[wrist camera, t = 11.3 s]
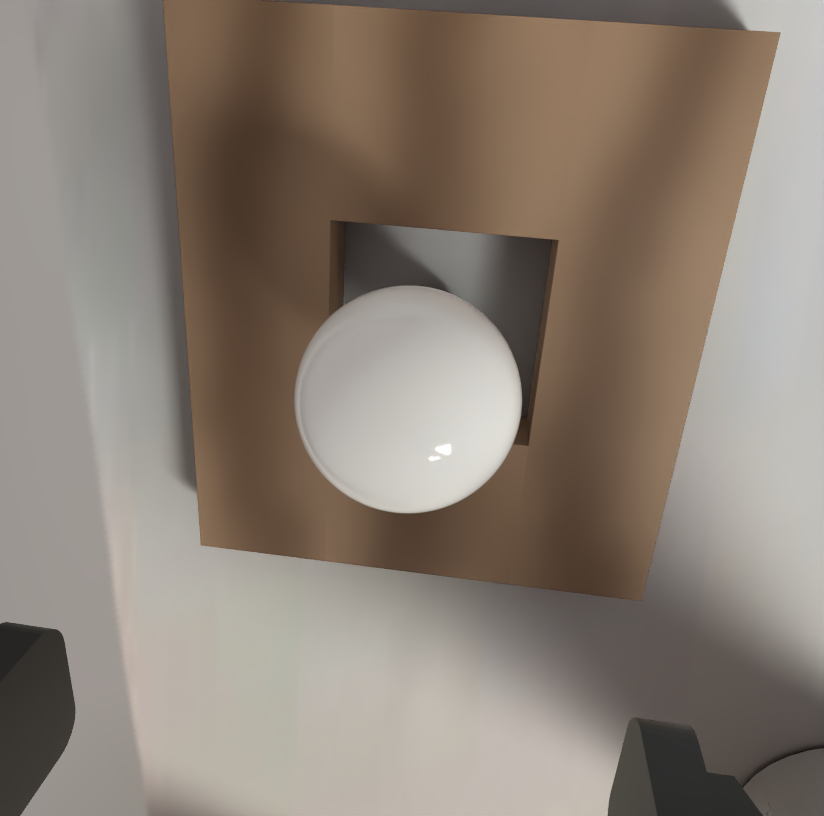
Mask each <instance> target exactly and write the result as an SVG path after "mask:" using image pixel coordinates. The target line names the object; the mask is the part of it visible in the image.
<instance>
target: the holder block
mask: <svg viewBox="0 0 824 816" xmlns="http://www.w3.org/2000/svg"><path fill="white" fill-rule="evenodd" d="M163 10H164V24H165V39H166V53H167V67H168V82H169V96H170V110H171V125H172V139H173V153H174V168H175V182H176V196H177V210H178V225H179V239H180V253H181V268H182V282H183V296H184V311H185V325H186V339H187V354H188V368H189V382H190V396H191V411H192V425H193V439H194V454H195V468H196V482H197V497H198V511H199V525H200V540H201V545H203V546H211V547H219V548H226V549H234V550H242V551H250V552H258V553H266V554H274V555H282V556H290V557H297V558H305V559H313V560H321V561H329V562H337V563H345V564H353V565H361V566H369V567H376V568H384V569H392V570H400V571H408V572H416V573H424V574H432V575H440V576H447V577H455V578H463V579H471V580H479V581H487V582H495V583H503V584H511V585H519V586H526V587H534V588H542V589H550V590H558V591H566V592H574V593H582V594H590V595H597V596H605V597H613V598H621V599H629V600H637V601H642V597H643V593H644V589H645V584H646V580H647V576H648V572H649V568H650V564H651V560H652V556H653V552H654V548H655V544H656V539H657V535H658V531H659V527H660V523H661V519H662V515H663V511H664V507H665V503H666V499H667V495H668V490H669V486H670V482H671V478H672V474H673V470H674V466H675V462H676V458H677V454H678V450H679V445H680V441H681V437H682V433H683V429H684V425H685V421H686V417H687V413H688V409H689V405H690V400H691V396H692V392H693V388H694V384H695V380H696V376H697V372H698V368H699V364H700V360H701V356H702V351H703V347H704V343H705V339H706V335H707V331H708V327H709V323H710V319H711V315H712V311H713V306H714V302H715V298H716V294H717V290H718V286H719V282H720V278H721V274H722V270H723V266H724V261H725V257H726V253H727V249H728V245H729V241H730V237H731V233H732V229H733V225H734V221H735V217H736V212H737V208H738V204H739V200H740V196H741V192H742V188H743V184H744V180H745V176H746V172H747V167H748V163H749V159H750V155H751V151H752V147H753V143H754V139H755V135H756V131H757V127H758V122H759V118H760V114H761V110H762V106H763V102H764V98H765V94H766V90H767V86H768V82H769V78H770V73H771V69H772V65H773V61H774V57H775V53H776V49H777V45H778V41H779V37H780V33H781V32H765V31H749V30H733V29H716V28H700V27H684V26H668V25H652V24H636V23H619V22H603V21H587V20H571V19H555V18H539V17H523V16H506V15H490V14H474V13H458V12H442V11H426V10H409V9H393V8H377V7H361V6H345V5H329V4H313V3H296V2H280V1H264V0H163ZM345 221H347V222H358V223H370V224H381V225H393V226H404V227H416V228H427V229H439V230H450V231H462V232H473V233H485V234H496V235H508V236H519V237H531V238H542V239H552V246H551V253H550V260H549V267H548V274H547V281H546V288H545V294H544V301H543V308H542V315H541V322H540V329H539V336H538V343H537V350H536V357H535V364H534V371H533V378H532V385H531V392H530V399H529V406H528V413H527V417H521V419H520V424H519V428H518V431H517V435H516V437H515V440H514V443H513V445H512V447H511V449H510V451H509V453H508V455H507V457H506V458H505V460H504V462H503V463H502V465H501V466H500V467H499V469H498V470H497V471H496V473H495V474H494V475H493V476H492V477H491V478H490V479H489V480H488V481H487V482H486V483H485V484H484V485H483V486H482V487H480V488H479V489H478V490H477V491H475V492H474V493H472V494H471V495H469V496H468V497H466V498H465V499H463V500H461V501H459V502H457V503H455V504H453V505H450V506H448V507H445V508H442V509H438V510H434V511H430V512H424V513H413V514H404V513H392V512H386V511H382V510H378V509H374V508H371V507H368V506H366V505H363V504H361V503H359V502H357V501H355V500H353V499H351V498H350V497H348V496H346V495H345V494H343V493H342V492H341V491H339V490H338V489H337V488H335V487H334V486H333V485H332V484H331V483H330V482H329V481H328V480H327V479H326V478H325V477H324V476H323V475H322V474H321V473H320V471H319V470H318V469H317V468H316V466H315V465H314V463H313V462H312V460H311V459H310V457H309V455H308V454H307V452H306V450H305V448H304V445H303V443H302V440H301V438H300V435H299V432H298V428H297V424H296V419H295V411H294V389H295V381H296V376H297V372H298V368H299V365H300V362H301V359H302V356H303V354H304V352H305V350H306V348H307V346H308V344H309V342H310V340H311V339H312V337H313V336H314V334H315V333H316V331H317V330H318V329H319V328H320V326H321V325H322V324H323V323H324V322H325V321H326V320H327V319H328V318H329V317H330V316H331V315H332V314H333V313H334V312H335V311H337V310H338V309H339V308H340V307H342V306H343V294H344V254H345Z"/></svg>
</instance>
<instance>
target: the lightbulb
mask: <svg viewBox="0 0 824 816" xmlns="http://www.w3.org/2000/svg"><path fill="white" fill-rule="evenodd" d="M294 411H295V419H296V424H297V428H298V432H299V435H300V438H301V440H302V443H303V445H304V448H305V450H306V452H307V454H308V455H309V457H310V459H311V460H312V462H313V463H314V465H315V466H316V468H317V469H318V470H319V471H320V473H321V474H322V475H323V476H324V477H325V478H326V479H327V480H328V481H329V482H330V483H331V484H332V485H333V486H334V487H335V488H337V489H338V490H339V491H341V492H342V493H343V494H345V495H346V496H348V497H350V498H351V499H353V500H355V501H357V502H359V503H361V504H363V505H366V506H368V507H371V508H374V509H378V510H382V511H386V512H392V513H404V514H413V513H424V512H430V511H434V510H438V509H442V508H445V507H448V506H450V505H453V504H455V503H457V502H459V501H461V500H463V499H465V498H466V497H468V496H469V495H471V494H472V493H474V492H475V491H477V490H478V489H479V488H480V487H482V486H483V485H484V484H485V483H486V482H487V481H488V480H489V479H490V478H491V477H492V476H493V475H494V474H495V473H496V471H497V470H498V469H499V467H500V466H501V465H502V463H503V462H504V460H505V458H506V457H507V455H508V453H509V451H510V449H511V447H512V445H513V443H514V440H515V437H516V435H517V431H518V428H519V424H520V419H521V411H522V388H521V380H520V375H519V371H518V367H517V364H516V361H515V359H514V356H513V354H512V351H511V349H510V347H509V345H508V344H507V342H506V340H505V339H504V337H503V336H502V334H501V333H500V331H499V330H498V329H497V327H496V326H495V325H494V324H493V323H492V322H491V321H490V320H489V319H488V318H487V317H486V316H485V315H484V314H483V313H482V312H481V311H479V310H478V309H477V308H476V307H474V306H473V305H471V304H470V303H468V302H467V301H465V300H463V299H461V298H459V297H457V296H455V295H453V294H450V293H448V292H445V291H443V290H439V289H435V288H430V287H424V286H414V285H402V286H392V287H386V288H381V289H377V290H374V291H371V292H368V293H366V294H363V295H361V296H359V297H357V298H355V299H353V300H351V301H350V302H348V303H346V304H345V305H343V306H342V307H340V308H339V309H338V310H337V311H335V312H334V313H333V314H332V315H331V316H330V317H329V318H328V319H327V320H326V321H325V322H324V323H323V324H322V325H321V326H320V328H319V329H318V330H317V331H316V333H315V334H314V336H313V337H312V339H311V340H310V342H309V344H308V346H307V348H306V350H305V352H304V354H303V356H302V359H301V362H300V365H299V368H298V372H297V376H296V381H295V389H294Z"/></svg>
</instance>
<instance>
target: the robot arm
mask: <svg viewBox="0 0 824 816" xmlns="http://www.w3.org/2000/svg"><path fill="white" fill-rule="evenodd" d="M74 720H75V702H74V697H73V691H72V685H71V678H70V673H69V666H68V661H67V654H66V648H65V642H64V638H63V636H62V634H61V633H60V631H58V630H55V629H49V628H43V627H36V626H29V625H22V624H16V623H8V622H5V623H1V624H0V816H20V815H21V814H22V812H23V811H24V809H25V808H26V806H27V805H28V803H29V802H30V800H31V799H32V797H33V796H34V794H35V793H36V791H37V790H38V789H39V787H40V786H41V784H42V783H43V781H44V780H45V778H46V777H47V775H48V774H49V772H50V771H51V769H52V768H53V767H54V765H55V764H56V762H57V761H58V759H59V758H60V756H61V754H62V753H63V751H64V750H65V748H66V746H67V743H68V741H69V739H70V736H71V733H72V729H73V725H74ZM608 816H824V748H822V749H815V750H808V751H805V752H801V753H798V754H794V755H791V756H788V757H785V758H783V759H781V760H779V761H777V762H775V763H773V764H771V765H769V766H767V767H766V768H764V769H763V770H762V771H760V772H759V773H757V774H756V775H755V776H753V777H752V779H751V780H750V781H749V782H748V783H747V784H746V785H745V786H744V787H743V788H742V787H741V785H740V784H739V783H738V781H737V780H736V779H735V777H733V776H727V775H720V774H714V773H707V771H706V768H705V764H704V761H703V757H702V753H701V750H700V746H699V743H698V739H697V736H696V734H695V732H694V730H693V728H692V727H691V726H687V725H680V724H674V723H667V722H660V721H653V720H647V719H640V718H632V719H631V720H630V722H629V725H628V728H627V732H626V735H625V739H624V743H623V747H622V751H621V755H620V759H619V763H618V766H617V770H616V774H615V778H614V782H613V786H612V790H611V794H610V799H609V807H608Z"/></svg>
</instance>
